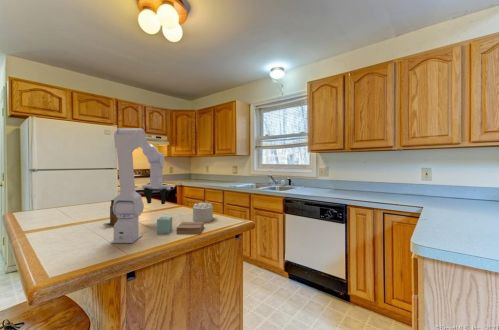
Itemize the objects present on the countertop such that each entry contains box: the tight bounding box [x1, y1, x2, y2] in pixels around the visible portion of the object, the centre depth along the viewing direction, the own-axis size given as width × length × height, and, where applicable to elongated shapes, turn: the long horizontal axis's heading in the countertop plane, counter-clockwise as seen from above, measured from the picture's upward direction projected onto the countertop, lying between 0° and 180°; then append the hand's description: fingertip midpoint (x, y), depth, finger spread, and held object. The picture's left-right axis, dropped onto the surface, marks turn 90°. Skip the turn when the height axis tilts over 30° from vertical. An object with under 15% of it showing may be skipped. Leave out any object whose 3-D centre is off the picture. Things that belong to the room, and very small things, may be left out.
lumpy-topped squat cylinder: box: [192, 202, 214, 223], centre depth 127 cm, size 10×13×9 cm
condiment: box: [103, 199, 118, 228], centre depth 116 cm, size 7×8×12 cm
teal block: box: [156, 216, 173, 234], centre depth 105 cm, size 5×5×6 cm
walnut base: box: [175, 221, 205, 235], centre depth 107 cm, size 10×10×3 cm
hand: (156, 203), depth 119 cm, fingers open, 7 cm apart
